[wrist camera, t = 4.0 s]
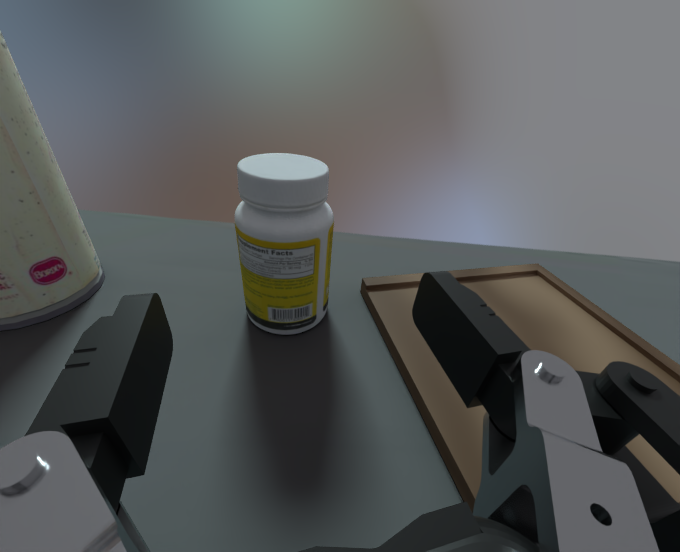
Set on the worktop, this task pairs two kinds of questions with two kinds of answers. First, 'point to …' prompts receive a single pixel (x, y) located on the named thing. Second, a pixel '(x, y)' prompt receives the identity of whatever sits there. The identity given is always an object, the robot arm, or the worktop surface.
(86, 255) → the aerosol can
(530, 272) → the walnut board
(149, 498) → the worktop surface
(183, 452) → the worktop surface
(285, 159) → the supplement bottle
